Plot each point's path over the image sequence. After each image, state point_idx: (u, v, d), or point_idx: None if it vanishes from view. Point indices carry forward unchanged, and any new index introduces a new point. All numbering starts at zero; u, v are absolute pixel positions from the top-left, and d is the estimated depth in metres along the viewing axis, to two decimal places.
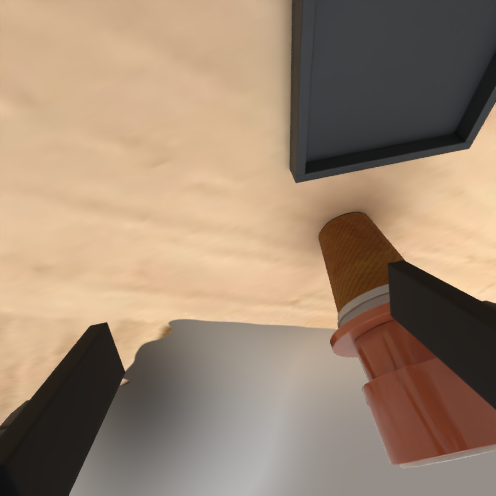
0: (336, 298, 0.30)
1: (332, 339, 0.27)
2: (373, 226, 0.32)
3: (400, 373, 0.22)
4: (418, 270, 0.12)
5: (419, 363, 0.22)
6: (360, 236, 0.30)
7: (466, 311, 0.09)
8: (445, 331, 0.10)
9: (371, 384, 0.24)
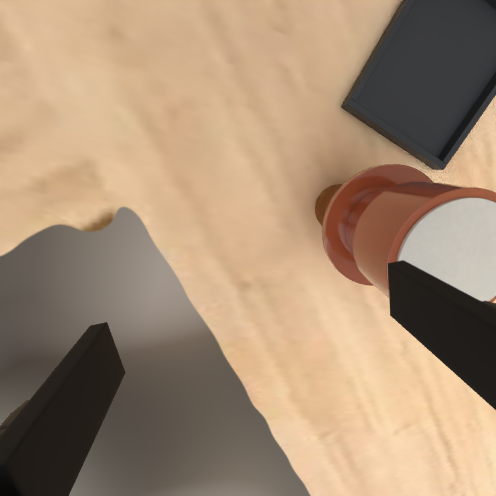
0: None
1: (336, 193, 0.28)
2: None
3: (412, 182, 0.24)
4: (418, 270, 0.12)
5: None
6: None
7: (466, 311, 0.09)
8: (445, 331, 0.10)
9: (378, 197, 0.24)
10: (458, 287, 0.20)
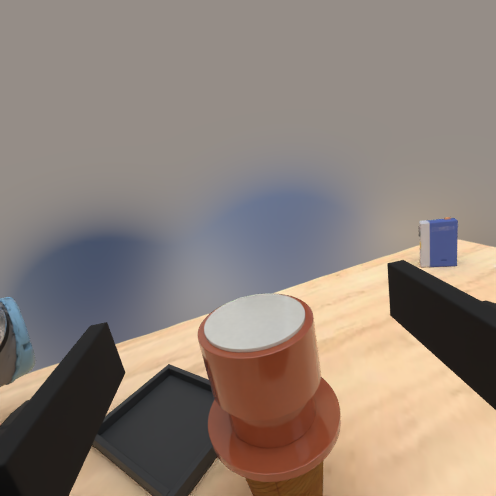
0: (253, 482, 0.26)
1: (229, 467, 0.23)
2: None
3: None
4: (418, 270, 0.12)
5: None
6: None
7: (466, 311, 0.09)
8: (445, 331, 0.10)
9: (218, 403, 0.24)
10: (276, 312, 0.25)
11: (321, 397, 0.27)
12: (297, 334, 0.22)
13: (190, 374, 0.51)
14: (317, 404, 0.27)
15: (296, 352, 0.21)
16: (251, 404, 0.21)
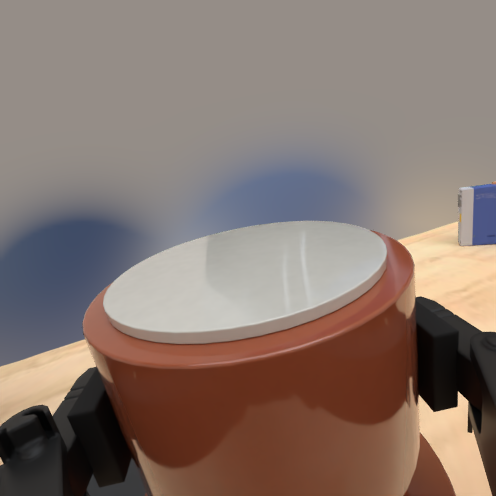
0: None
1: None
2: None
3: None
4: None
5: None
6: None
7: None
8: None
9: (145, 488, 0.09)
10: (300, 243, 0.10)
11: None
12: (381, 284, 0.07)
13: None
14: None
15: (386, 343, 0.06)
16: None
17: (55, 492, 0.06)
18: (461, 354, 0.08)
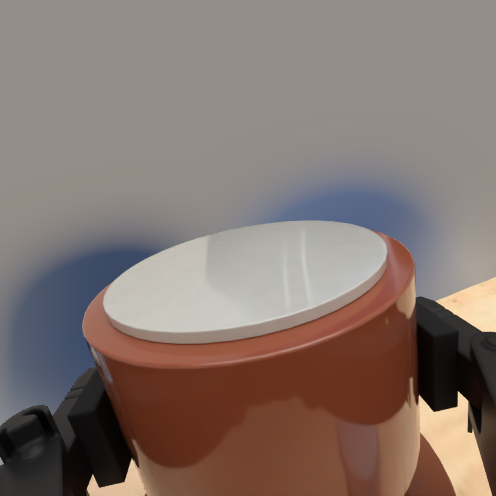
0: None
1: None
2: None
3: None
4: None
5: None
6: None
7: None
8: None
9: (145, 488, 0.09)
10: (301, 243, 0.10)
11: None
12: (382, 283, 0.07)
13: None
14: None
15: (387, 343, 0.06)
16: None
17: (55, 492, 0.06)
18: (460, 355, 0.08)
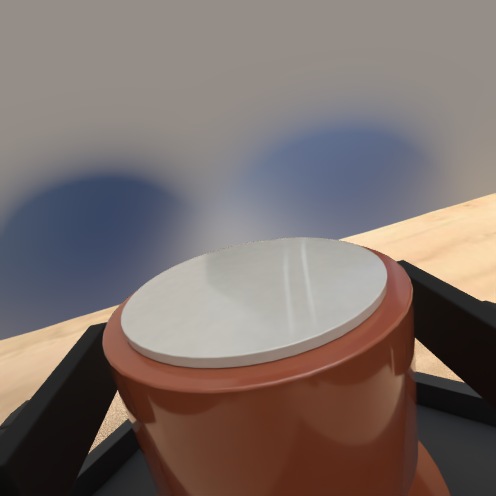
0: None
1: None
2: None
3: None
4: (418, 270, 0.12)
5: None
6: None
7: (466, 311, 0.09)
8: (445, 331, 0.10)
9: None
10: (305, 264, 0.10)
11: None
12: (382, 310, 0.07)
13: None
14: None
15: (386, 367, 0.06)
16: None
17: None
18: None
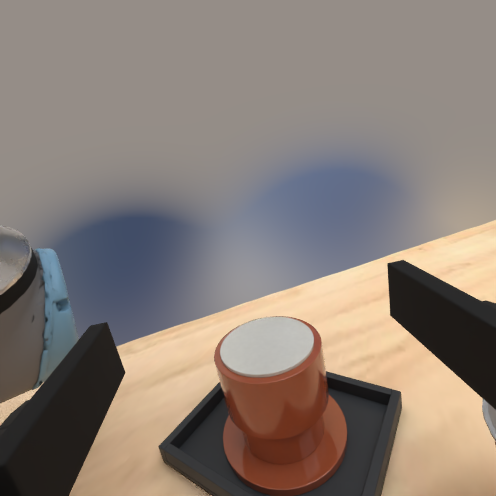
0: None
1: (245, 482, 0.25)
2: None
3: None
4: (418, 270, 0.12)
5: None
6: None
7: (466, 311, 0.09)
8: (445, 331, 0.10)
9: (234, 422, 0.26)
10: (287, 336, 0.27)
11: (328, 414, 0.29)
12: (307, 359, 0.24)
13: None
14: (325, 421, 0.29)
15: (307, 377, 0.23)
16: (266, 425, 0.23)
17: None
18: None
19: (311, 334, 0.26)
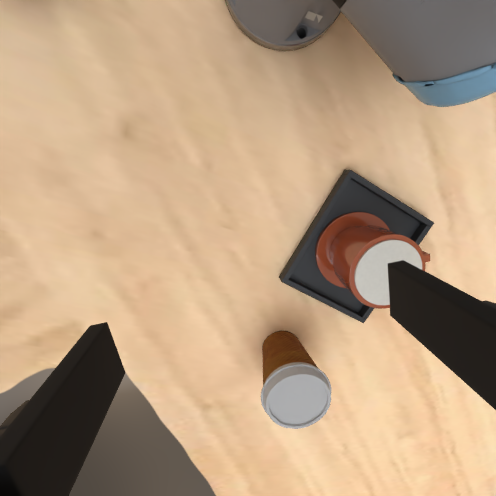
0: (268, 370, 0.41)
1: (323, 229, 0.44)
2: None
3: (367, 226, 0.40)
4: (418, 270, 0.12)
5: (377, 225, 0.40)
6: (295, 343, 0.46)
7: (466, 311, 0.09)
8: (446, 331, 0.10)
9: (347, 235, 0.40)
10: None
11: None
12: (364, 299, 0.37)
13: None
14: None
15: None
16: (337, 259, 0.40)
17: None
18: None
19: (387, 304, 0.37)
